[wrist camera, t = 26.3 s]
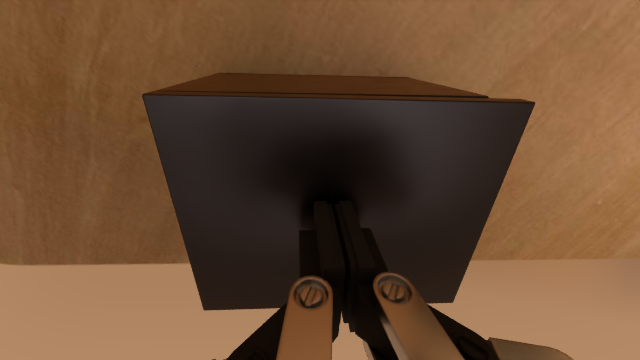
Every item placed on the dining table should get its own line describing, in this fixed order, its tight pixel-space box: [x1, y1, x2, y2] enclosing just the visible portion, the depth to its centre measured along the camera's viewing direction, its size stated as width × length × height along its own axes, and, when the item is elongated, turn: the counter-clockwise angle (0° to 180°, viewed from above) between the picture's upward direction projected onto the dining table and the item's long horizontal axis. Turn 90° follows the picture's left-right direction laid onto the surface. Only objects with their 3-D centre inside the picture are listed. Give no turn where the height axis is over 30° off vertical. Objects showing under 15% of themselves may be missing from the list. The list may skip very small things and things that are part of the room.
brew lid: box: [142, 91, 535, 310], centre depth 12 cm, size 14×12×1 cm
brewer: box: [157, 73, 489, 98], centre depth 17 cm, size 14×12×9 cm
